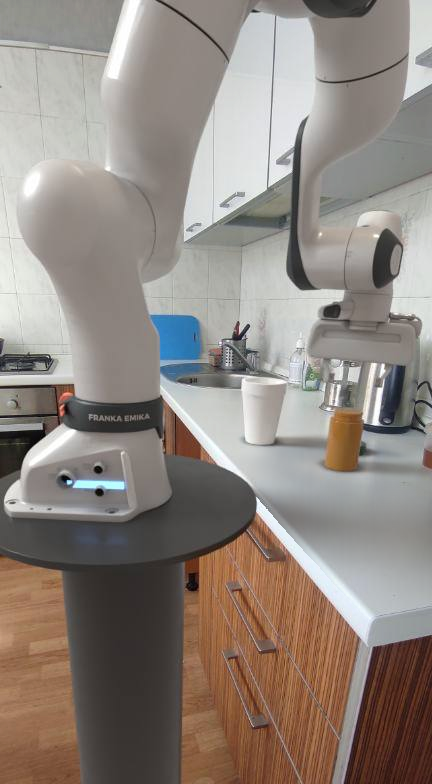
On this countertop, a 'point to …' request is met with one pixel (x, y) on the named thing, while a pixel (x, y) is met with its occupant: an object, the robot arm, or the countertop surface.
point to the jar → (344, 439)
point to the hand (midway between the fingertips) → (353, 384)
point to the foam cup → (262, 408)
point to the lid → (362, 448)
